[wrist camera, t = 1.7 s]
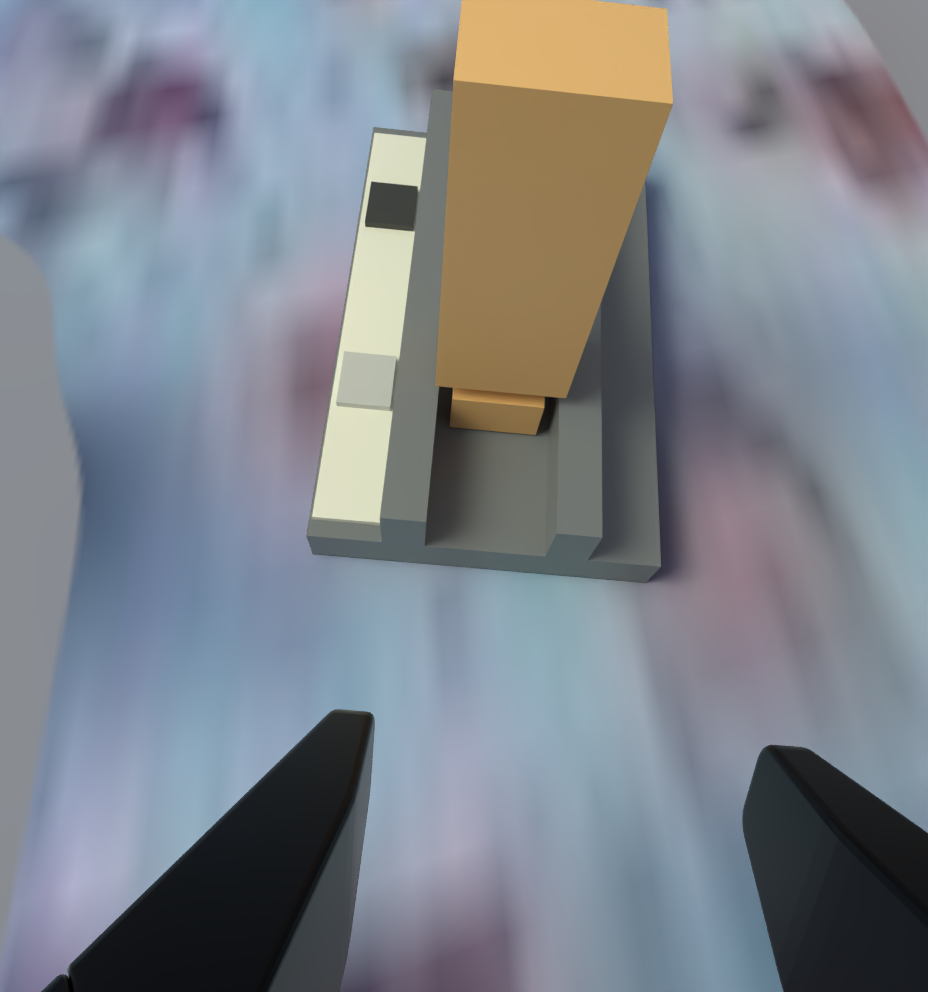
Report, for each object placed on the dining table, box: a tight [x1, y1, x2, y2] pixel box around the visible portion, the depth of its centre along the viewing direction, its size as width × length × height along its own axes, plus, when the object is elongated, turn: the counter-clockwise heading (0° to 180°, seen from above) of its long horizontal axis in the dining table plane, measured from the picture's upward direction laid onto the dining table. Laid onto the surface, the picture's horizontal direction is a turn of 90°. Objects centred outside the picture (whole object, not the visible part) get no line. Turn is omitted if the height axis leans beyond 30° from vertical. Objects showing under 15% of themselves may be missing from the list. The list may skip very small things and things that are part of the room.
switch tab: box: [435, 0, 673, 435], centre depth 18 cm, size 2×4×11 cm, turn 86°
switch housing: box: [306, 89, 661, 583], centre depth 24 cm, size 16×10×3 cm, turn 176°
